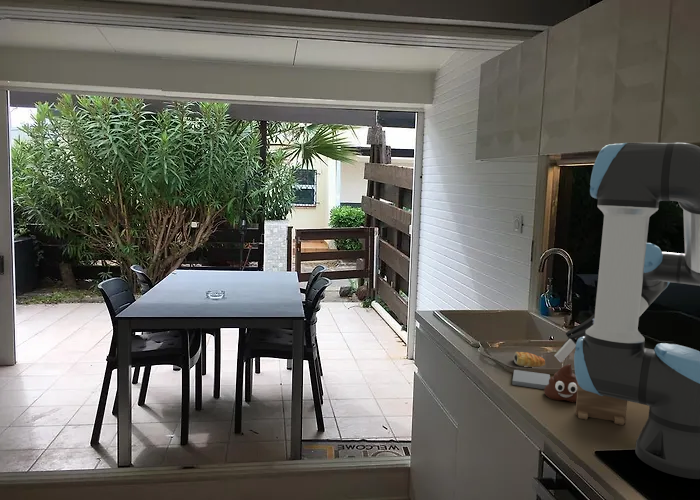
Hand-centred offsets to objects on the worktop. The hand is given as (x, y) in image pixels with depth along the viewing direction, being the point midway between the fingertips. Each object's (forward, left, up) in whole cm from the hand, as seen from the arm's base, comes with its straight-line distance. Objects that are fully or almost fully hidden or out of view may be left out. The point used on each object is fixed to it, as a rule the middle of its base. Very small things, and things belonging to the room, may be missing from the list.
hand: (573, 367), depth 151 cm
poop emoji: (-2, +2, -8) cm, 9 cm away
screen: (-13, -6, -8) cm, 16 cm away
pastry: (+24, +12, -8) cm, 28 cm away
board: (+7, +10, -8) cm, 15 cm away
